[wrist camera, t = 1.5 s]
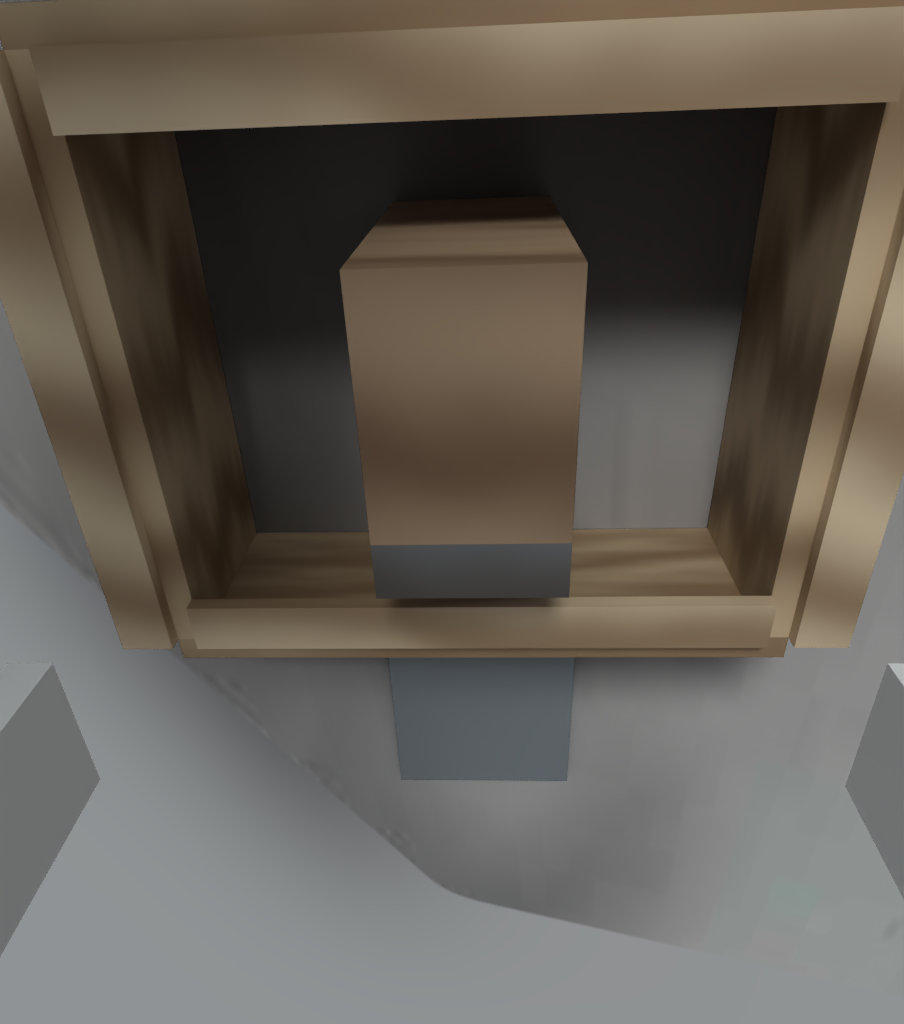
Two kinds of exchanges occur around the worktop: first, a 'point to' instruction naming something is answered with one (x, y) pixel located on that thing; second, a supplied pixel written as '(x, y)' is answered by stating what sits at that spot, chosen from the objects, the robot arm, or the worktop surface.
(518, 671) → the mat
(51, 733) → the robot arm
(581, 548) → the wooden crate
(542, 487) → the block
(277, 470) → the worktop surface
